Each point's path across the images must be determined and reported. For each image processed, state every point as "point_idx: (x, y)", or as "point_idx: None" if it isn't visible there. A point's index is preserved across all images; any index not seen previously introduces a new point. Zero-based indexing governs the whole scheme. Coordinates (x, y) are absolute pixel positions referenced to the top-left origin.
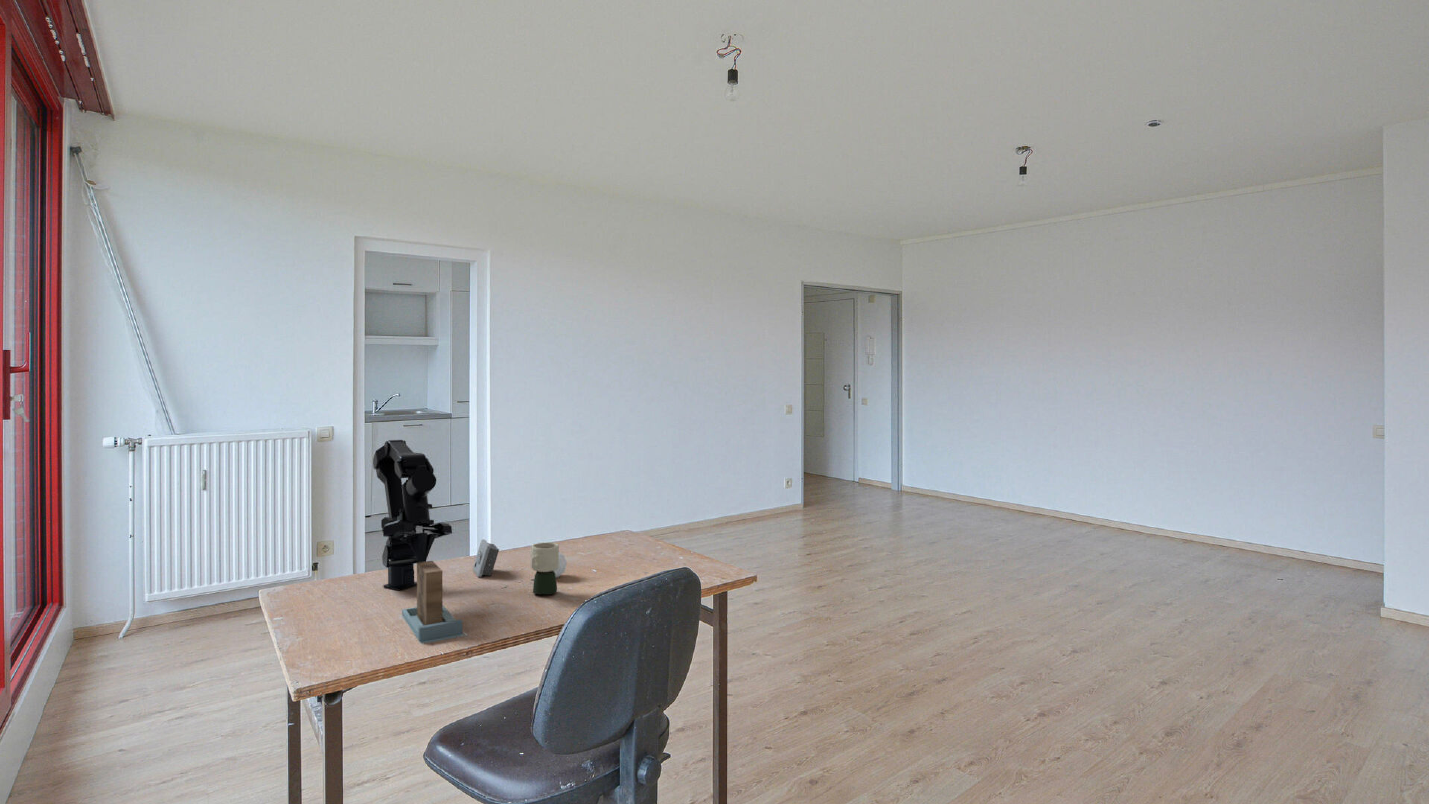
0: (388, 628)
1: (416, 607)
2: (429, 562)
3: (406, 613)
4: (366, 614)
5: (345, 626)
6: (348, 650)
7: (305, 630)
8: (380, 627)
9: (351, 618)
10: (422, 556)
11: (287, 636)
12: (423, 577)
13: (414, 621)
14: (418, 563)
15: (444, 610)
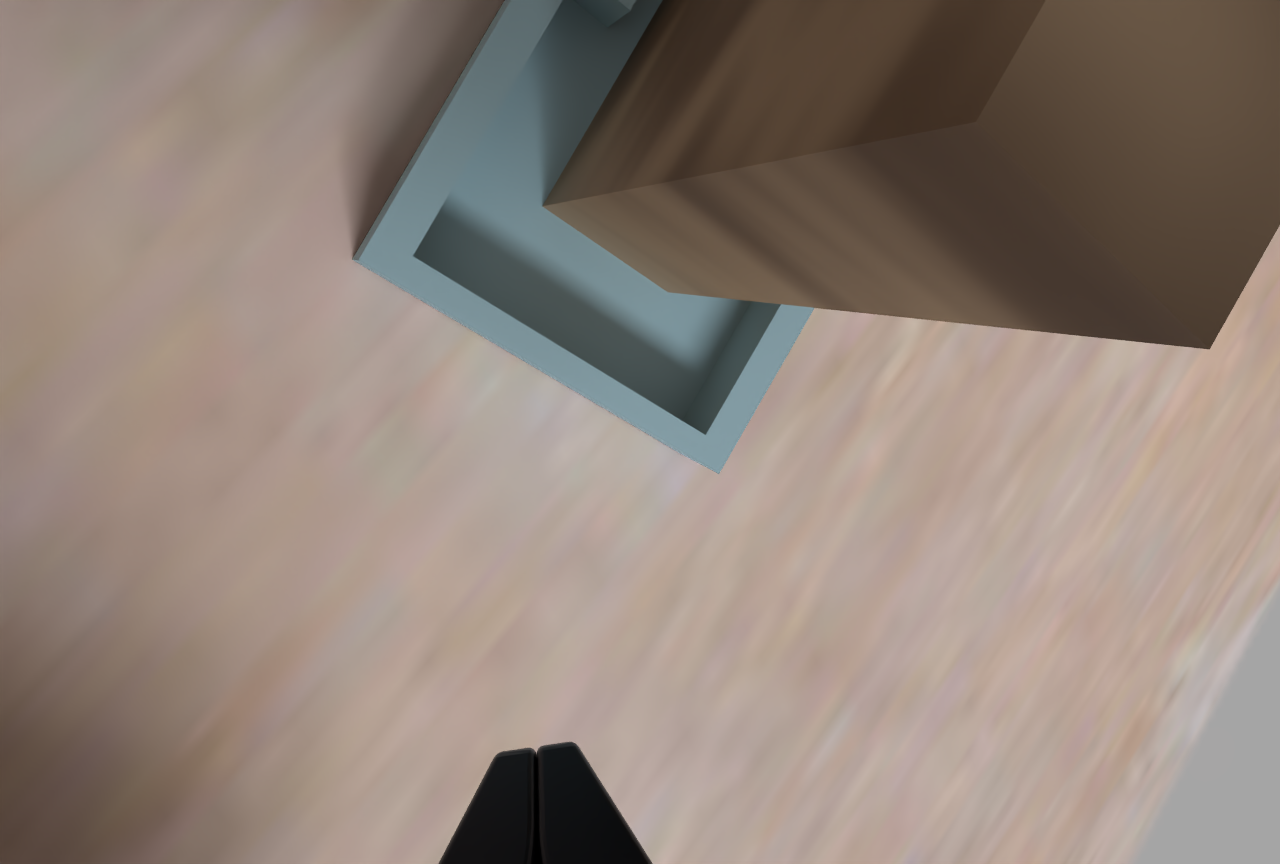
0: (901, 332)
1: (614, 394)
2: (1124, 56)
3: (785, 331)
4: (744, 774)
5: (973, 645)
6: None
7: (1092, 773)
8: (907, 409)
9: (849, 772)
10: (643, 851)
11: (1177, 752)
12: None
13: None
14: (1246, 255)
15: (543, 11)
